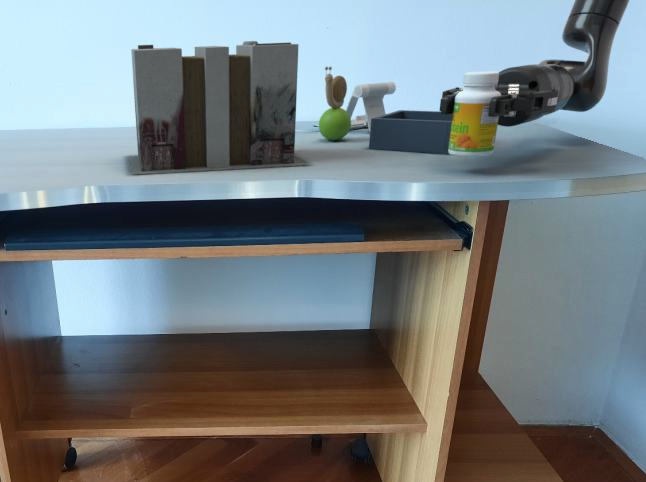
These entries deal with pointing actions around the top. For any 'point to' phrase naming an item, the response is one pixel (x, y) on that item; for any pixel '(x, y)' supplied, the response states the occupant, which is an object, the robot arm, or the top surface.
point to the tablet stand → (369, 102)
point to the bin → (411, 131)
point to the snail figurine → (335, 109)
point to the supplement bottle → (474, 116)
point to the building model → (215, 108)
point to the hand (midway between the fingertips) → (468, 106)
